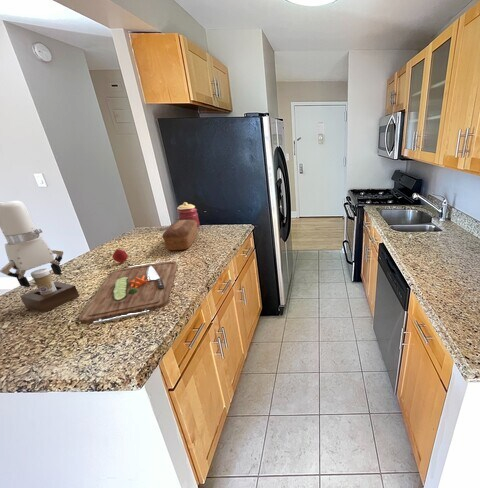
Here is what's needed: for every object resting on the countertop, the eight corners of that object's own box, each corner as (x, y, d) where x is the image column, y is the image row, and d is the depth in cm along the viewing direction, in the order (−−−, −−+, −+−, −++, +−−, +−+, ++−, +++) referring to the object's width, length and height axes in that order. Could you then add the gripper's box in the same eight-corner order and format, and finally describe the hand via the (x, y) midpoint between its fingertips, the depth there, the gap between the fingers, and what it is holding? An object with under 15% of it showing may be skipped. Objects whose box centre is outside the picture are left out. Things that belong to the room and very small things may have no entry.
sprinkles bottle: (43, 306, 97) (28, 275, 92) (46, 300, 101) (31, 270, 95) (60, 302, 100) (46, 271, 94) (62, 297, 103) (49, 266, 98)
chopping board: (115, 270, 124) (113, 264, 123) (178, 260, 133) (177, 255, 132) (73, 329, 85) (69, 321, 84) (165, 310, 95) (163, 303, 94)
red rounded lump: (128, 259, 135) (123, 245, 132) (130, 262, 131) (125, 248, 128) (114, 262, 131) (109, 248, 128) (116, 266, 128) (111, 251, 125)
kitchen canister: (204, 224, 189) (199, 201, 182) (189, 230, 178) (183, 205, 171) (191, 222, 194) (186, 199, 187) (175, 227, 183) (170, 203, 176)
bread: (201, 234, 171) (197, 216, 166) (190, 250, 145) (185, 230, 140) (178, 235, 168) (174, 217, 163) (163, 253, 142) (157, 232, 138)
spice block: (25, 307, 97) (19, 296, 95) (61, 291, 106) (56, 281, 105) (45, 312, 94) (39, 301, 92) (79, 296, 103) (74, 285, 102)
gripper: (46, 228, 99) (63, 268, 105) (-21, 244, 83) (4, 290, 90) (59, 230, 97) (76, 271, 103) (-7, 247, 81) (18, 294, 88)
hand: (43, 280), depth 96 cm, fingers open, 8 cm apart
